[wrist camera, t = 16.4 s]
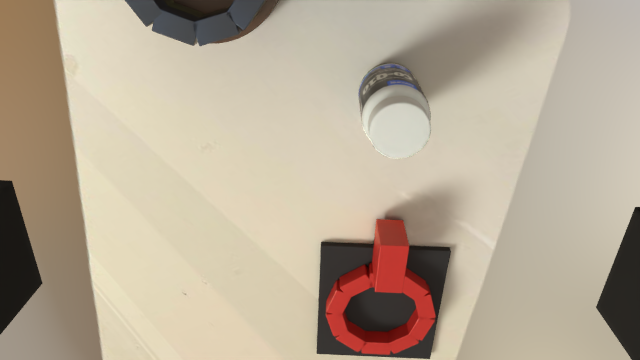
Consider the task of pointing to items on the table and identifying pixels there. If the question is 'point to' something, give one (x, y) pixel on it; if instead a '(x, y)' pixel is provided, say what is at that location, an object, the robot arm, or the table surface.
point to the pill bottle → (394, 111)
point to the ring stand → (202, 18)
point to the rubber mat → (378, 296)
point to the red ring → (384, 277)
